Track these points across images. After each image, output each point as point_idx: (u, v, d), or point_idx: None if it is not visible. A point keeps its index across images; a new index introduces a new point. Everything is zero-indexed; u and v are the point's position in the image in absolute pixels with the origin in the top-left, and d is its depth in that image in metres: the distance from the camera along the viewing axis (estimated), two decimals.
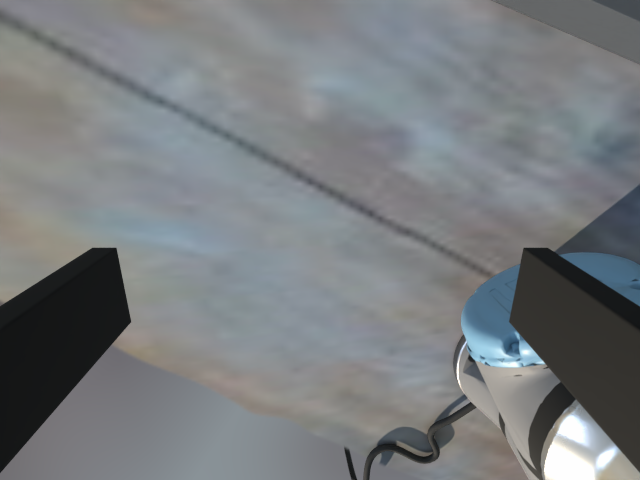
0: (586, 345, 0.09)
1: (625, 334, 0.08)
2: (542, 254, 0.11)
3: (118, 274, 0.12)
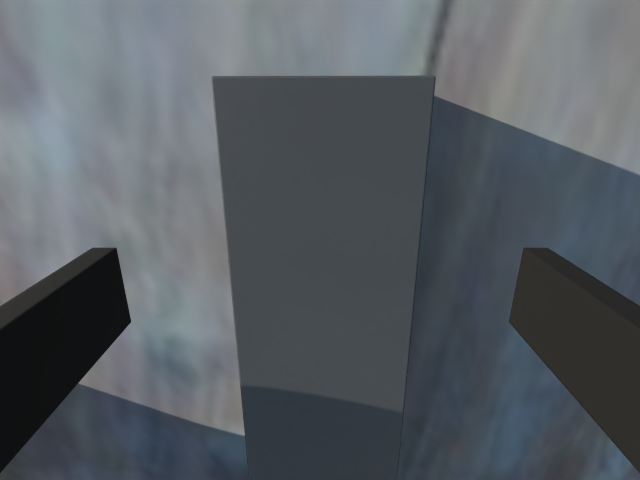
0: (586, 345, 0.09)
1: (625, 334, 0.08)
2: (542, 254, 0.11)
3: (119, 274, 0.12)
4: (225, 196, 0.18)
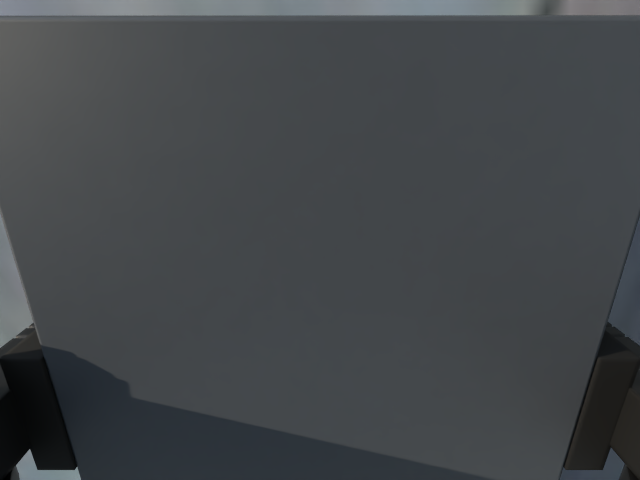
0: None
1: None
2: None
3: None
4: (52, 360, 0.07)
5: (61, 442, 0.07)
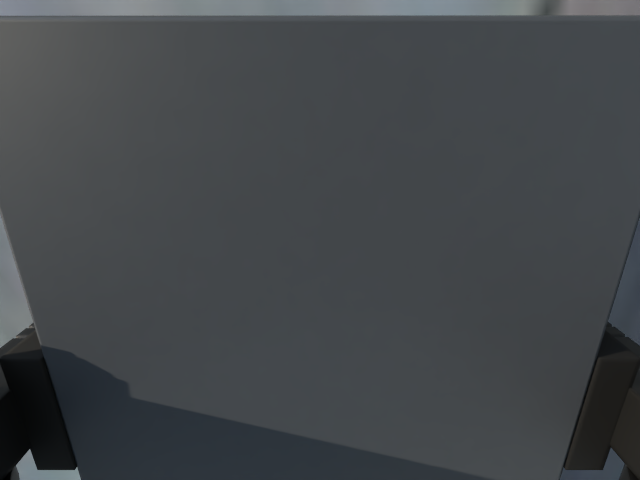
0: None
1: None
2: None
3: None
4: (53, 361, 0.07)
5: (61, 442, 0.07)
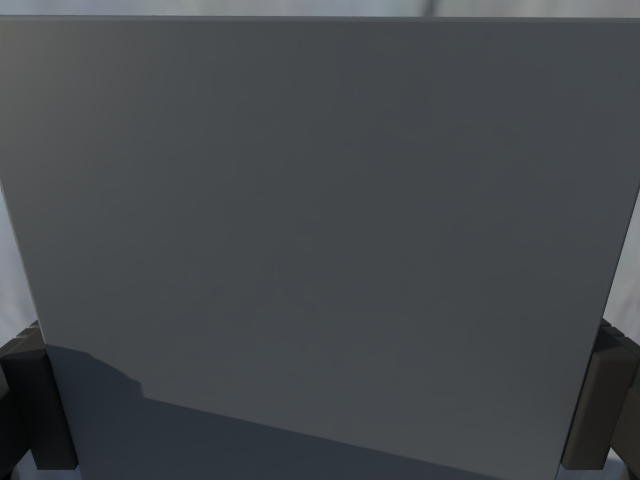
0: None
1: None
2: None
3: None
4: (55, 355, 0.07)
5: (61, 442, 0.07)
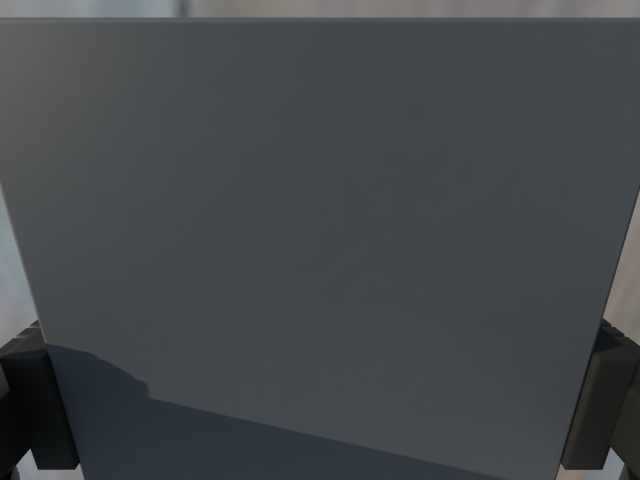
0: None
1: None
2: None
3: None
4: (56, 357, 0.07)
5: (62, 442, 0.07)
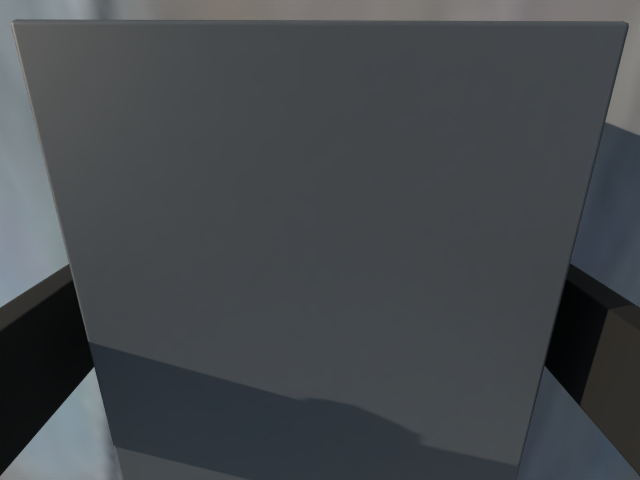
0: (582, 344, 0.09)
1: (621, 333, 0.08)
2: None
3: None
4: (88, 317, 0.08)
5: None
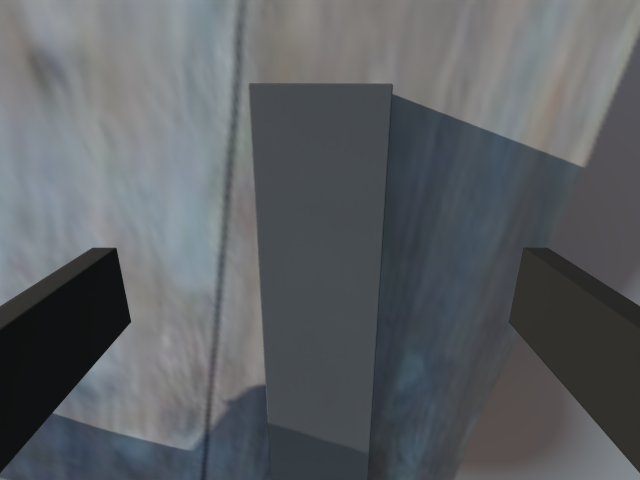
0: (586, 345, 0.09)
1: (625, 334, 0.08)
2: (542, 254, 0.11)
3: (119, 274, 0.12)
4: (255, 163, 0.28)
5: None
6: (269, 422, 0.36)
